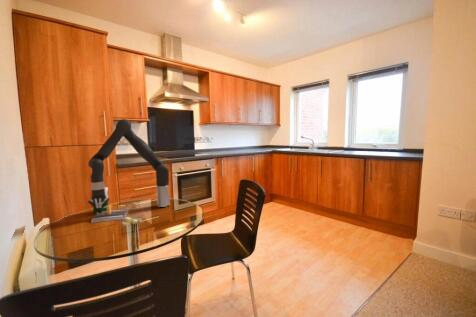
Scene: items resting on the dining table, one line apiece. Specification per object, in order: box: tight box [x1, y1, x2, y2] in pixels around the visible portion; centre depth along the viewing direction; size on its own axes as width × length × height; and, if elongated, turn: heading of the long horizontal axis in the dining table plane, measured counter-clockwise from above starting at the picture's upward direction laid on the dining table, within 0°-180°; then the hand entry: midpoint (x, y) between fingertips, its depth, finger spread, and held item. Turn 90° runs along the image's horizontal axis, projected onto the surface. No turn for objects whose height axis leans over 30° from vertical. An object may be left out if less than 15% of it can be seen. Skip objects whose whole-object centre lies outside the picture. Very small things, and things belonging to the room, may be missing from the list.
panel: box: [90, 209, 130, 224], centre depth 148 cm, size 20×13×2 cm, turn 107°
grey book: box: [91, 208, 128, 220], centre depth 147 cm, size 19×13×2 cm
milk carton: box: [92, 186, 109, 215], centre depth 156 cm, size 9×9×20 cm
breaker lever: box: [105, 204, 113, 216], centre depth 147 cm, size 4×3×6 cm
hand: (100, 212), depth 145 cm, fingers closed
